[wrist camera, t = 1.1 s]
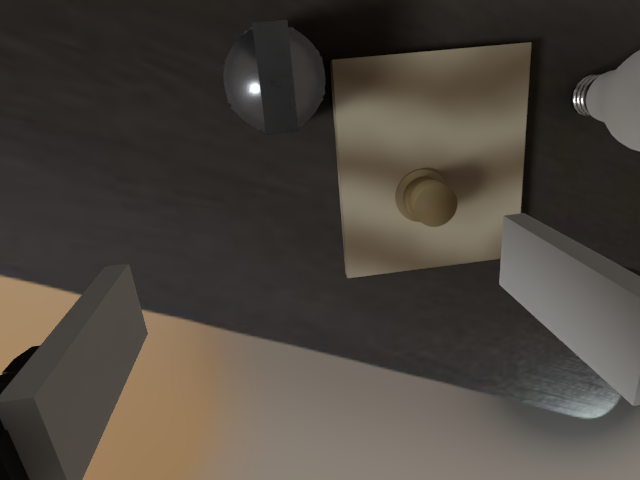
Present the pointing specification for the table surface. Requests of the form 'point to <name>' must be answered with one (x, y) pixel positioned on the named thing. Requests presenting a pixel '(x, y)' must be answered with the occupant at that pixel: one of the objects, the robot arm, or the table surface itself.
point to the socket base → (429, 154)
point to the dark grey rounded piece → (274, 77)
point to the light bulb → (613, 100)
